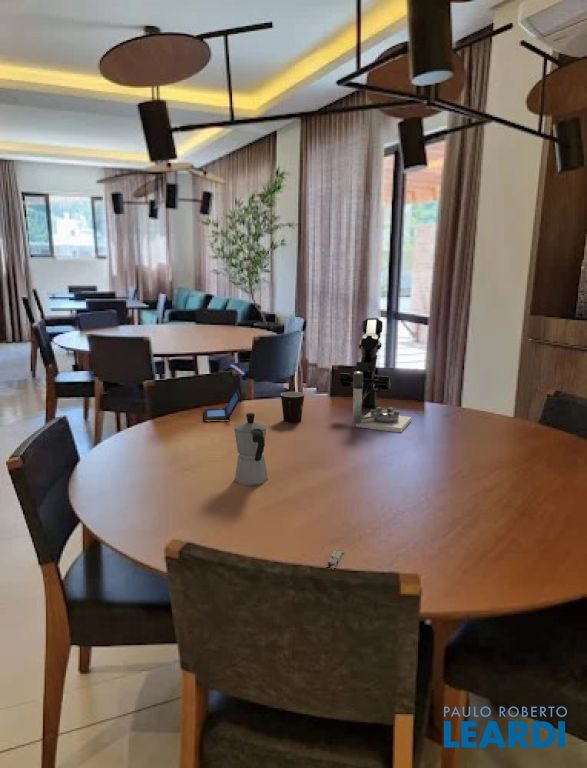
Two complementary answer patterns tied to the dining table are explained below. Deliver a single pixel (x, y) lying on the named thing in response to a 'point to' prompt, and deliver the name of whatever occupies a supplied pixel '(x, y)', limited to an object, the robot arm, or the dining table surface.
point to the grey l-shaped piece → (375, 414)
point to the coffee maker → (250, 452)
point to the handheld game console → (223, 409)
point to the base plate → (386, 424)
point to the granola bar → (334, 558)
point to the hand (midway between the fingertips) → (360, 401)
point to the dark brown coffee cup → (292, 406)
